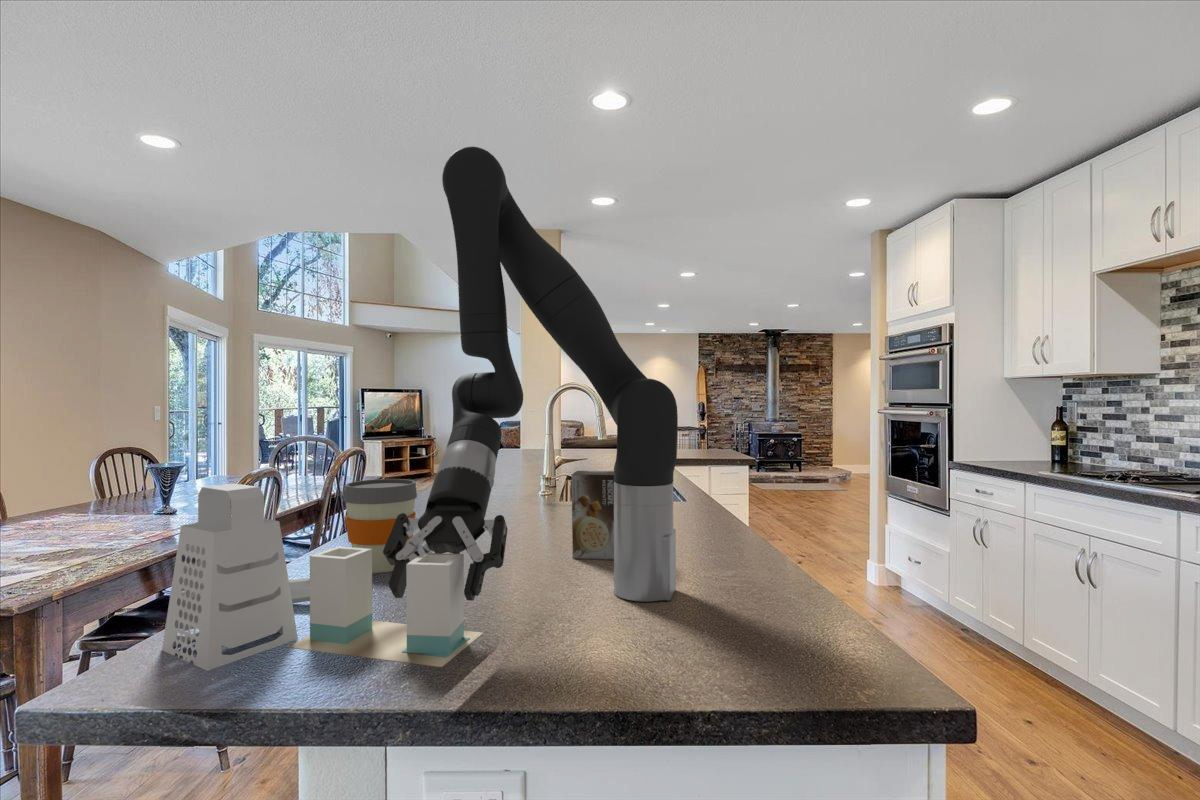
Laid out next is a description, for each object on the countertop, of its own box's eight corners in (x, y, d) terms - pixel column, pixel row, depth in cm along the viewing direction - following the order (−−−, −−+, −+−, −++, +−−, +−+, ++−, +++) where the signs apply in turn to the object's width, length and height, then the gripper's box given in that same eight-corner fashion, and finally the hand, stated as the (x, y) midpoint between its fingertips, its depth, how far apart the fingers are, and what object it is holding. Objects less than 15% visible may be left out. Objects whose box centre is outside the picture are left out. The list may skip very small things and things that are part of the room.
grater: (206, 685, 65) (205, 496, 65) (159, 663, 71) (158, 489, 71) (299, 651, 74) (299, 484, 74) (251, 633, 80) (251, 478, 80)
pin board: (483, 644, 76) (483, 593, 76) (441, 680, 66) (441, 622, 66) (344, 628, 81) (344, 581, 81) (287, 659, 72) (287, 605, 72)
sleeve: (463, 637, 74) (463, 554, 74) (449, 654, 69) (449, 565, 69) (423, 635, 75) (423, 553, 75) (406, 652, 70) (406, 564, 70)
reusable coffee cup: (404, 575, 106) (404, 488, 106) (331, 575, 106) (330, 488, 106) (425, 557, 118) (425, 478, 118) (360, 556, 119) (360, 478, 118)
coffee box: (623, 552, 122) (623, 470, 122) (618, 560, 116) (618, 474, 115) (577, 550, 123) (577, 469, 123) (570, 558, 117) (570, 473, 117)
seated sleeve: (372, 628, 77) (371, 548, 77) (345, 644, 73) (345, 558, 73) (338, 625, 79) (337, 546, 79) (309, 639, 74) (309, 556, 74)
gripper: (403, 464, 80) (361, 578, 69) (511, 465, 79) (486, 581, 68) (419, 498, 86) (382, 609, 74) (520, 500, 84) (499, 613, 73)
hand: (432, 596), depth 71 cm, fingers open, 8 cm apart
